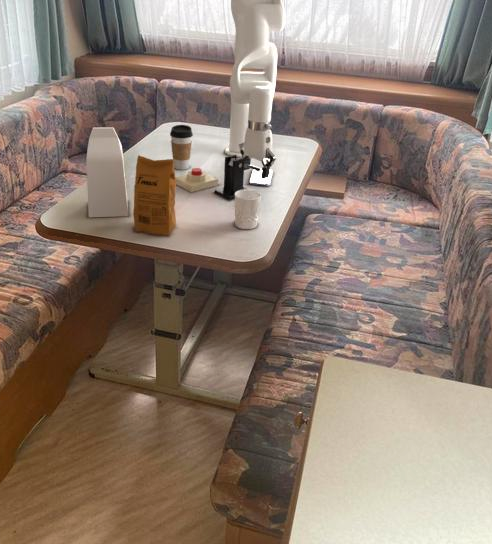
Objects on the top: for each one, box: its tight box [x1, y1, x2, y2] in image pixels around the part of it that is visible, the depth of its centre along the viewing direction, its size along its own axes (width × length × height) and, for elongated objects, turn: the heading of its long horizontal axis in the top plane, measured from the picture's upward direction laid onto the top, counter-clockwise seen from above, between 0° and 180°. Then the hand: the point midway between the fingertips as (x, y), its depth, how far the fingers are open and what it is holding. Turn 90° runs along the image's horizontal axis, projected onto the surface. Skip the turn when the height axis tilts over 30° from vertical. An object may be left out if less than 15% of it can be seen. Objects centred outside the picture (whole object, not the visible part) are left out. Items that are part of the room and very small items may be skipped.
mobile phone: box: [248, 168, 274, 187], centre depth 210 cm, size 8×1×15 cm
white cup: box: [234, 188, 262, 230], centre depth 174 cm, size 8×8×10 cm
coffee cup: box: [169, 124, 194, 171], centre depth 214 cm, size 8×8×15 cm
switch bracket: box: [213, 155, 248, 201], centre depth 194 cm, size 10×8×13 cm
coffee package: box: [133, 155, 177, 236], centre depth 166 cm, size 10×12×22 cm
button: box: [191, 167, 203, 176], centre depth 201 cm, size 4×4×2 cm
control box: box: [175, 170, 219, 193], centre depth 203 cm, size 12×10×4 cm
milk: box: [85, 126, 129, 218], centre depth 176 cm, size 12×12×26 cm
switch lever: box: [229, 158, 262, 171], centre depth 195 cm, size 12×5×2 cm, turn 130°
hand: (255, 173), depth 200 cm, fingers open, 9 cm apart
